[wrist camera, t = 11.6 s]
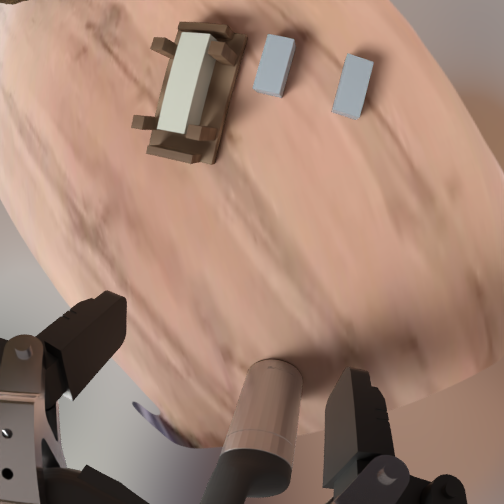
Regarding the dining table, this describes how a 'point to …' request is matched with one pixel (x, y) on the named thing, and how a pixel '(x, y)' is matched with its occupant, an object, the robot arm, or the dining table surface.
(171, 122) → the white rectangular block
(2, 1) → the clay pot
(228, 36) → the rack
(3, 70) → the dining table surface
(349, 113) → the pair of grey blocks
